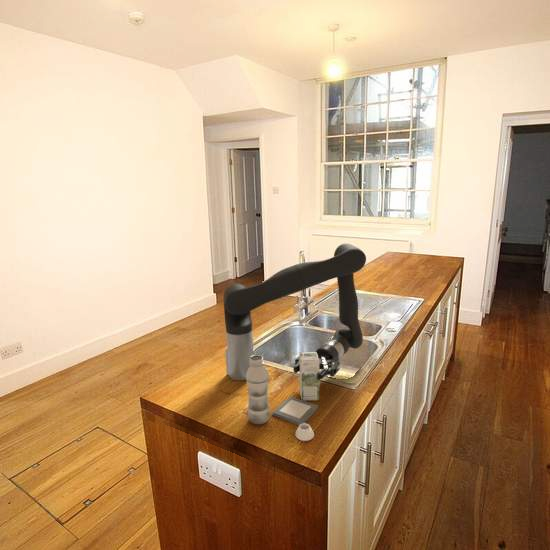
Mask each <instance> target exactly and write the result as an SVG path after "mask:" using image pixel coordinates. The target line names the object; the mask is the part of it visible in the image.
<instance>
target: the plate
mask: <svg viewBox="0 0 550 550" xmlns="http://www.w3.org/2000/svg"><path fill="white" fill-rule="evenodd" d="M318 409H319V405H318V404H315V403H311V402H309V401H302V400H301V399H299V398H296V397H293V396H289V397H288V398H287V399H285V400H284V401H283V402H282V403H281V404H280V405H279V406H277V408H275V409H274V410H273V411H272V416H273V417H277V418H279V419H281V420H285V421H287V422H289V423H291V424H295V425H297V426H299V425H300V424H303V423H306V422H307V421H308V420H309V419H310V418H311V417H312V416H313V415H314V414H315V413H316V412H317V410H318Z"/></svg>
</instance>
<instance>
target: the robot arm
mask: <svg viewBox="0 0 550 550" xmlns="http://www.w3.org/2000/svg"><path fill="white" fill-rule="evenodd" d="M366 263H367V256H366V254H365V252H364V251H363V250H362V249H360V248H359V247H357V246H355V245H352V244H351V243H342V244H340V245H339V246H337V247H336V249H335V250H334V254H333V256H332V257H330V258H327V259H324V260H323V259H322V260H318V261H317V260H315V261H307V262H301V263H297V264H294V265H291V266H289V267H285V268H284V269H282V270H279V271H278V272H276V273H274V274H272V275H271V276H269V278H267V279H266V280H264V281H262V282H260V283H257V284H255V285H251V286H248V287H246V286H245V285H243V284H241V283H234V284H231V285H228V287H227V288H226V289H225V291H224V292H223V293H224V294H223V310H224V312H223V313H224V323H225V334H226V335H225V336H226V350H225V351H224V352H225V354H224V355H225V367H226V375H227V376H229V379H231V380H234V381H247V380H246V373H247V371H248V369H249V368H250V366H251V365H250V357H251V356H254V355H255V354H254V338H253V336H254V335H253V322H252V315H251V311H254V310H256V309H257V308H259V307H261V306H263V305H265V304H268V303H271V302H273V301H277V300H279V299H282V298H285V297H288V296H290V295H294V294H297V293H299V292H302V291H304V290H307V289H309V288H312V287H314V286H316V285H320V284H323V283H325V282H327V281H329V280H333V279H336V278H337V287H338V320H339V322H340V323H341V324H342V325H344V326H339V327H338V328H337V329H336V330H335V332H334V334H333V337H332V338H330V339H329V340H328V341H326V342H325V343H324V344H322V345H321V346H319V347H318V348H317V349H316V350H315V351H314V352H317V355H318V358H319V372H318V374H317V380H319V381H320V380H323V379H324V378H325V377H327V376H330V377H335V375H336V374H337V373H338V372H339V371H340V368H341V362H340V359H342V358H343V357H344V355H345V354H347V352H348V351H350V350H349V349H358V348H360V347H361V346H362V344H363V339H364V338H363V337H364V335H363V330H362V328H361V325H360V321H359V301H358V300H359V299H358V296H357V295H358V294H357V291H356V286H355V281H354V280H355V279H354V274H355V273H357V272H359V271H360V270H362V269H363V268H364V266H365V265H366ZM345 326H346V327H345ZM293 373H294V374H297V373H300V367H299V355H298V356H297V357H295V359H294V365H293Z"/></svg>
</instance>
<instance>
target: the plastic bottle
mask: <svg viewBox="0 0 550 550" xmlns="http://www.w3.org/2000/svg"><path fill="white" fill-rule="evenodd" d="M253 355H254V356H251V357H250V365H251V366H250V368H249V369H248V371H247V373H246V380H245V381H246V385H247V389H248V390H247V391H248V405H247V412H246V413H247V419H248V420H249V422H250V423H251V424H254V425H263V424H265V423H267V422H268V420H269V419H270V416H271V409H270V404H269V399H268V398H269V397H268V389H269V380H270V379H269V378H270V375H269V371H268V369H267V368H266V367H265V366H264V364H265V363H264V357H263V356H262V355H259V354H256V355H255V354H253Z"/></svg>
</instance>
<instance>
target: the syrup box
mask: <svg viewBox="0 0 550 550" xmlns="http://www.w3.org/2000/svg"><path fill="white" fill-rule="evenodd" d="M298 356H299V367H300V371H299V394H300V400H302V401H305V402H312V401H315V402H316V401H320V380H317V374H318V372H320V370H319V358H318V355H317V352H315V351H310V352H309V351H308V352H306V351H305V352H299V353H298Z"/></svg>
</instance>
